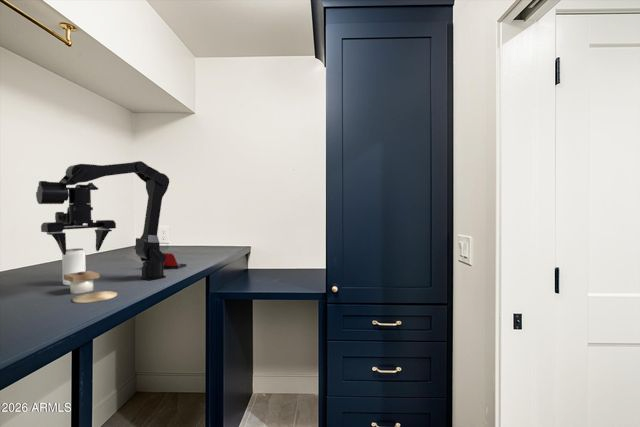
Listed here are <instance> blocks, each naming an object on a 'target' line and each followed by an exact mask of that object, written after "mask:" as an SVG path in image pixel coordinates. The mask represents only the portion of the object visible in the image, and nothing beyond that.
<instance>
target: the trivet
mask: <svg viewBox="0 0 640 427" xmlns="http://www.w3.org/2000/svg"><path fill="white" fill-rule="evenodd" d="M117 296H118V292H116V291H112V290H111V291H110V290H108V291H105V290H104V291H95V292H94V291H93V292H86V293H82V294H79V295H77V296H74V297H73V298H72V302H73V303H76V304H87V303H97V302H98V303H99V302H104V301H107V300H111V299H113V298H116V297H117Z"/></svg>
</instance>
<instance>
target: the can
mask: <svg viewBox="0 0 640 427" xmlns="http://www.w3.org/2000/svg"><path fill="white" fill-rule="evenodd" d="M61 258H62V260H61V261H62V264H61V265H62V284H63V285H64V286H70V281H67V280H64V275H65V274H72V273H78V272H85V271H86V268H87V267H86V252H85V251H84V248H66V255H63V254H62V257H61Z"/></svg>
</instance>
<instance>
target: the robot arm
mask: <svg viewBox="0 0 640 427" xmlns="http://www.w3.org/2000/svg"><path fill="white" fill-rule="evenodd" d="M133 173H134V174H136V176H137V177H138V178H139V179H140V180H141V181H143V182H144V183H145V190H146V193H147V203H146V204H147V205H146V210H145V217H144V225H143V230H142V235H140V238H139V237H136V238H135V245H134V248H133V249H134V250H135V254H136V256H138V257H139V258H140V260H141V262H142V266H141V276H140V279H142V280H146V281H154V280H157V279H165V278H167V275H164V268H163V262H165V260H166V256H165V255H164V254H163V253H164V252H162V251H161V248H160V247H161V246H160V245H161V244H160V240H159V236H158V230H159V224H160V216H161V210H162V203H163V197H164V195H166V192H167V191H168V189H169V185H170V178H169V177H168V175H166V174H165V173H162V172H160V171H158V170H157V169H155V168H153V167H151V166H149V165H148V164H146V163H145V162H143V161H142V160H138V161H134V162H133V161H132V162H125V163H113V164H105V165H99V164H93V163H92V164H91V163H90V164H89V163H78V164H73V165H70V166H68V167H67V168H66V169H65V175H64V176H63V177H61V180H59V181H56V182H55V181H46V180H39V181H38V186H37V189H36V192H35V194H36V195H35V198H36V202H37V204H38V205H63V204H65V201H66V202H67V201H68V207H67V209H66V212H64V211H56V212H55V213H54V219H55V221H53V222H50V221H49V222H43V223H42V224H41V225H40V232H42V233H46V235H49V236H52V238H54V240H55V241H56V243H57V246H58V248H59V249H60V251H61V253H62V255H66V249H67V238H66V237H67V236H66V232H63V231H64V230H81V229H94V233H95V252H99V251H100V250H101V247H102V245H103V243H104V241H105V239H106V237H107V236H108V234H109V233H110V232H112V229H116V228H117V223H116V221H115V219H114V220H113V219H103V220H102V219H100V220H98V219H97V220H95V221H94V219H92V211H93V210H94V207H93V206H92V191H97V190H99V187H97V185H95V184H94V183H93V182H90V181H94V180H97V179H99V178H103V177H110V176H116V175H117V176H118V175H123V174H124V175H125V174H133ZM87 182H88V183H87ZM82 183H87V184H82ZM74 185H75V187H67V186H74ZM95 228H96V229H95Z"/></svg>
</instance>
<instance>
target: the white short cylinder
mask: <svg viewBox="0 0 640 427" xmlns="http://www.w3.org/2000/svg"><path fill="white" fill-rule="evenodd" d="M92 291H94V279H90V280H84V281H78V282H71V281H70V285H69V294H75V295H76V294H86V293H91V292H92Z"/></svg>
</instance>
